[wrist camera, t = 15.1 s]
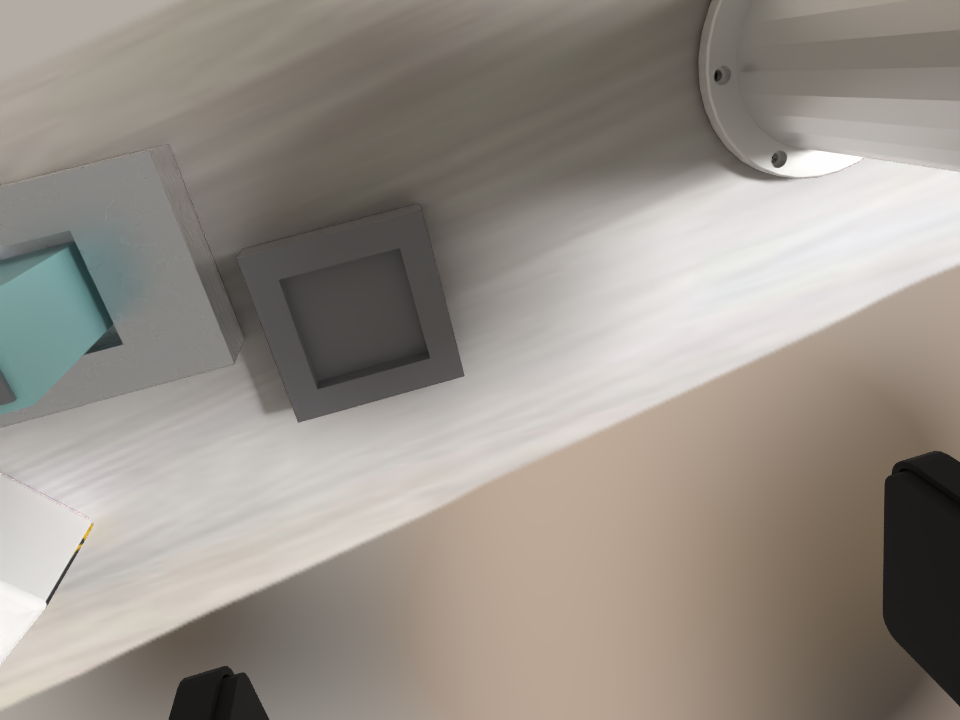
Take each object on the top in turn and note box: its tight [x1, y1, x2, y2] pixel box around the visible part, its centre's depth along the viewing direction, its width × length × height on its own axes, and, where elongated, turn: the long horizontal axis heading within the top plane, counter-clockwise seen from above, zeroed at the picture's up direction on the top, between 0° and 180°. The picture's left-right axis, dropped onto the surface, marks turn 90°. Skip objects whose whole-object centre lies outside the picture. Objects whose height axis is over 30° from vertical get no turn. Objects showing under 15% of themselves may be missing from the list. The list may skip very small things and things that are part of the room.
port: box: [0, 144, 245, 428], centre depth 32 cm, size 14×10×4 cm
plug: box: [0, 240, 114, 415], centre depth 28 cm, size 4×4×10 cm
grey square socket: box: [236, 204, 464, 422], centre depth 36 cm, size 9×9×2 cm
